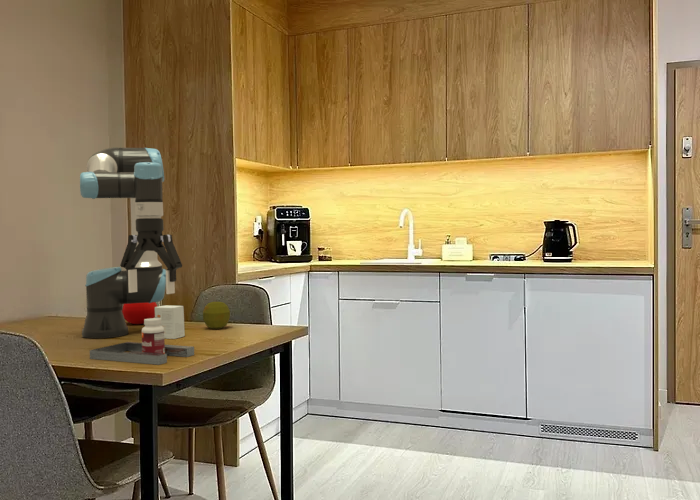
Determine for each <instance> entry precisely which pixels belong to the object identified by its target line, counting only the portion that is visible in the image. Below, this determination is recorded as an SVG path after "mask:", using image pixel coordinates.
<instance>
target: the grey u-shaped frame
mask: <svg viewBox="0 0 700 500" xmlns="http://www.w3.org/2000/svg"><path fill="white" fill-rule="evenodd" d="M168 356H169V357H182V358H188V357H192V356H195V347H194V346H192V345H189V346H188V345H178V344H177V345H175V344H165V354H163V353H150V352H142V342H133V341H125V342H121V343H117V344H113V345H107V346H103V347H99V348H94V349H90V350H89V359H90V360H102V361H113V362H121V363H122V362H125V363H135V364H145V365H154V366H155V365H157V366H159V365H162V364H163V365H164V364H166V363H168Z"/></svg>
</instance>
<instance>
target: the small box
mask: <svg viewBox="0 0 700 500" xmlns="http://www.w3.org/2000/svg"><path fill="white" fill-rule="evenodd" d="M184 311H185V310H184V305H170V304H169V305H166V304H165V305H159V306H157V307H155V317H154V318H161V324H160V325H161V326H162V327H163V328H164V339H167V340H169V339H170V340H175V339H180V338H182V337H183V338H184V337H185V314H184V313H185V312H184Z"/></svg>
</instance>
